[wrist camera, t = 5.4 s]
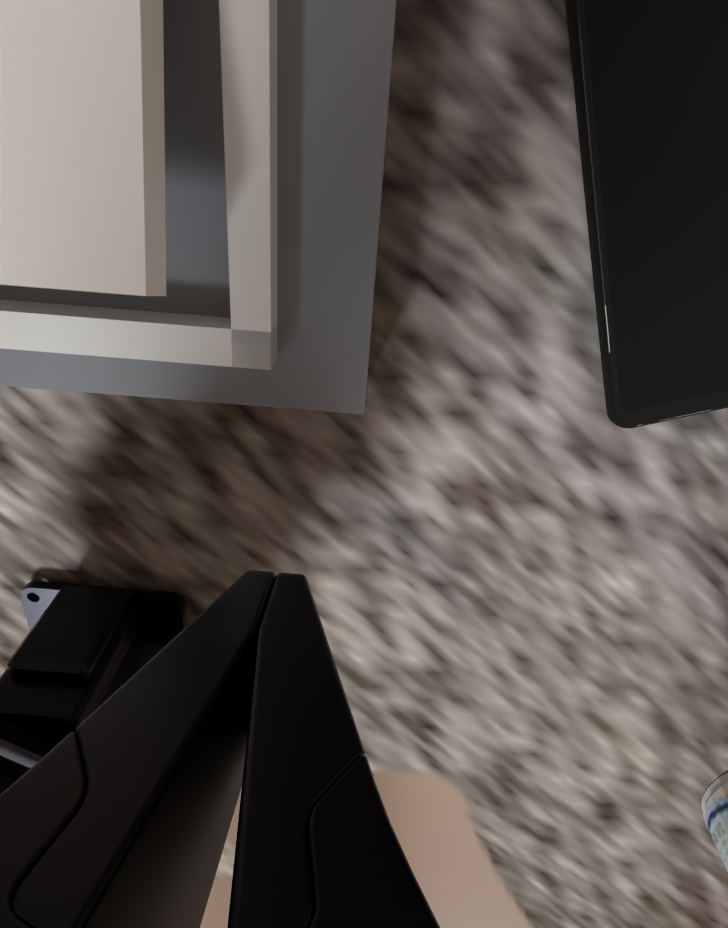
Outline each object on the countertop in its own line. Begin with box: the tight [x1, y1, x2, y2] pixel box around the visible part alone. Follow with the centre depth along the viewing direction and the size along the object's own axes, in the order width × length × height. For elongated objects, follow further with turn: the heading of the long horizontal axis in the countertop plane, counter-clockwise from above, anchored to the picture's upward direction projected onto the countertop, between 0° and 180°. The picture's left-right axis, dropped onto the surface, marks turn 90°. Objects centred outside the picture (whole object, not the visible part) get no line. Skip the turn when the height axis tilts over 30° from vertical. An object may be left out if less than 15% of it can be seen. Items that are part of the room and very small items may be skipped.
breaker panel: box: [0, 0, 397, 415], centre depth 14 cm, size 17×15×4 cm
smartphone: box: [565, 0, 728, 428], centre depth 17 cm, size 7×1×15 cm
